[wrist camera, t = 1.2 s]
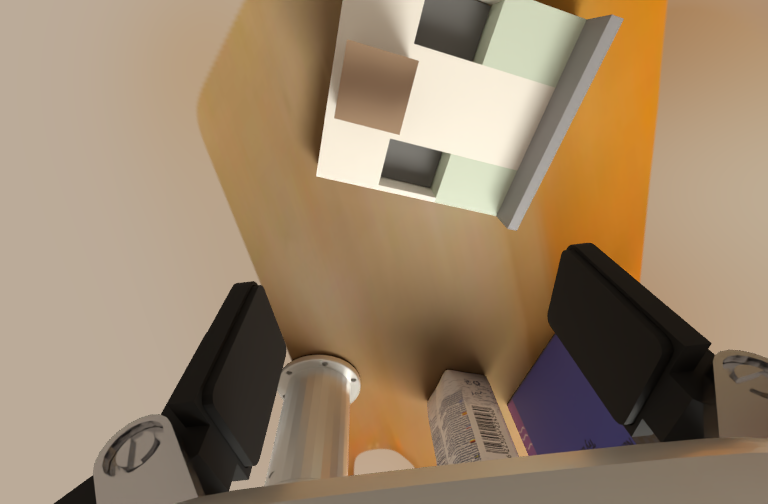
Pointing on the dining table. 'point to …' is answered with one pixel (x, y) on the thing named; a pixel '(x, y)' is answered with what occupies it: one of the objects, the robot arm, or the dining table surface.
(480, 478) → the robot arm
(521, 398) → the blue rectangular box
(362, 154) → the tray
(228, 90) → the dining table surface
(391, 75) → the block
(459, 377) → the juice carton
